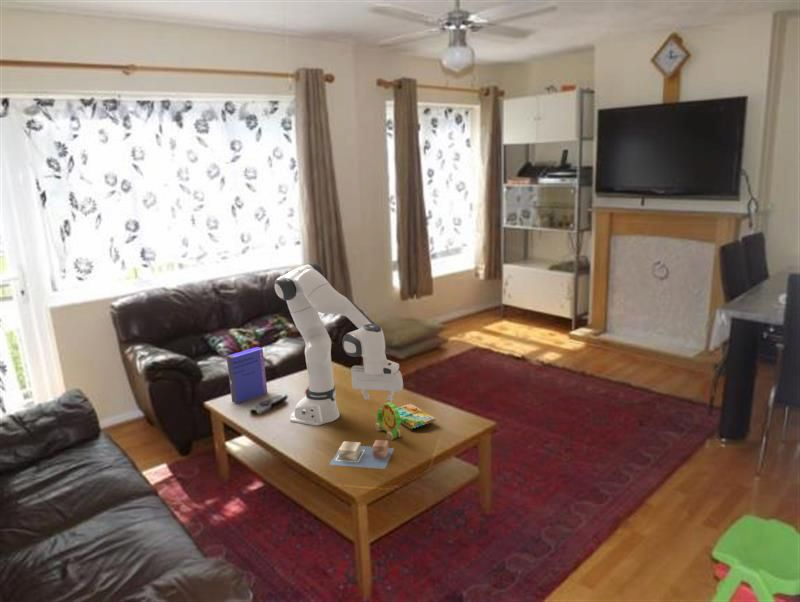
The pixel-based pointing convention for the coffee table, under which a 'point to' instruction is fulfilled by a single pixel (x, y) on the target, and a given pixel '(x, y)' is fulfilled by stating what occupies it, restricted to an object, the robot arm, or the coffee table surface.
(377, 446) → the terracotta cube
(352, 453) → the ash base block
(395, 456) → the coffee table surface
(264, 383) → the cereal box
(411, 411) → the puzzle game
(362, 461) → the board
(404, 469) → the coffee table surface
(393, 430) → the toy lion
